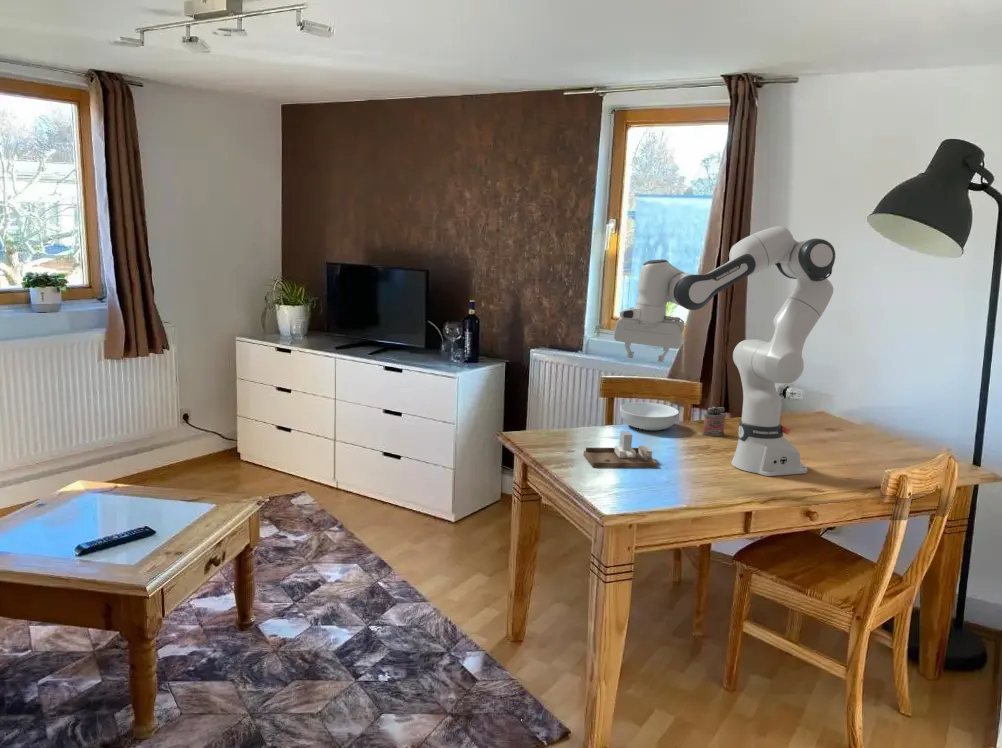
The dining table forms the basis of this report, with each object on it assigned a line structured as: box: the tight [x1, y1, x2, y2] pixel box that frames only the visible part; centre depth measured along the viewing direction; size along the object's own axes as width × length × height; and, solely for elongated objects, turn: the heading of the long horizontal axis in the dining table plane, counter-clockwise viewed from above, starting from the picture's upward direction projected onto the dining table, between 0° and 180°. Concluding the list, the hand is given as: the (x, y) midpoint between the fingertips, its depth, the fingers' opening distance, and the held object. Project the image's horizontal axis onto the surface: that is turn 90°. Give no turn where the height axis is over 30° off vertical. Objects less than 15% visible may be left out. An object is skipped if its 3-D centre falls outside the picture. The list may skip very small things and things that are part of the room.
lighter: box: [701, 406, 727, 437], centre depth 283 cm, size 8×3×10 cm, turn 104°
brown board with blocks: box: [582, 445, 658, 469], centre depth 248 cm, size 20×12×4 cm, turn 98°
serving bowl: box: [619, 401, 680, 432], centre depth 289 cm, size 21×21×7 cm
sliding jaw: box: [614, 430, 636, 460], centre depth 247 cm, size 5×9×7 cm, turn 8°
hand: (645, 359), depth 242 cm, fingers open, 8 cm apart
